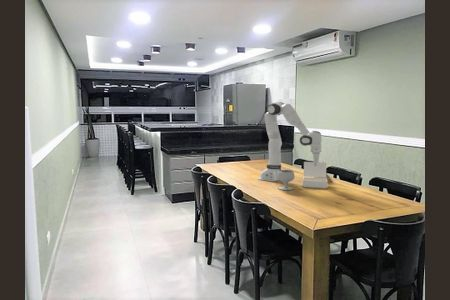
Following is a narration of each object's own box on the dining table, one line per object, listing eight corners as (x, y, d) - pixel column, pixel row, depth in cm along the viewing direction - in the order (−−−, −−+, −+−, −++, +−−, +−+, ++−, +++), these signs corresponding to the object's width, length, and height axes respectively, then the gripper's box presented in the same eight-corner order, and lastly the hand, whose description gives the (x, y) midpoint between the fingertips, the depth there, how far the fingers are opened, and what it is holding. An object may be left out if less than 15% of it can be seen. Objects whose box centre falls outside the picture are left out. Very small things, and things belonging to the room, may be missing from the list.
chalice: (297, 189, 267) (298, 171, 265) (284, 191, 260) (284, 173, 258) (286, 186, 279) (287, 169, 277) (273, 188, 272) (273, 170, 271)
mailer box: (302, 187, 276) (302, 180, 275) (302, 183, 289) (302, 177, 289) (327, 188, 271) (327, 181, 271) (326, 185, 285) (326, 178, 284)
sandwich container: (333, 181, 302) (334, 165, 300) (319, 182, 297) (320, 166, 295) (327, 179, 310) (328, 163, 308) (314, 180, 305) (314, 164, 303)
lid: (304, 161, 292) (304, 162, 293) (303, 176, 288) (303, 176, 289) (326, 162, 288) (326, 162, 289) (326, 177, 284) (326, 177, 284)
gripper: (311, 148, 292) (311, 163, 294) (312, 151, 272) (312, 167, 274) (319, 148, 291) (318, 164, 292) (320, 151, 271) (319, 167, 272)
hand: (315, 165), depth 283 cm, fingers closed
